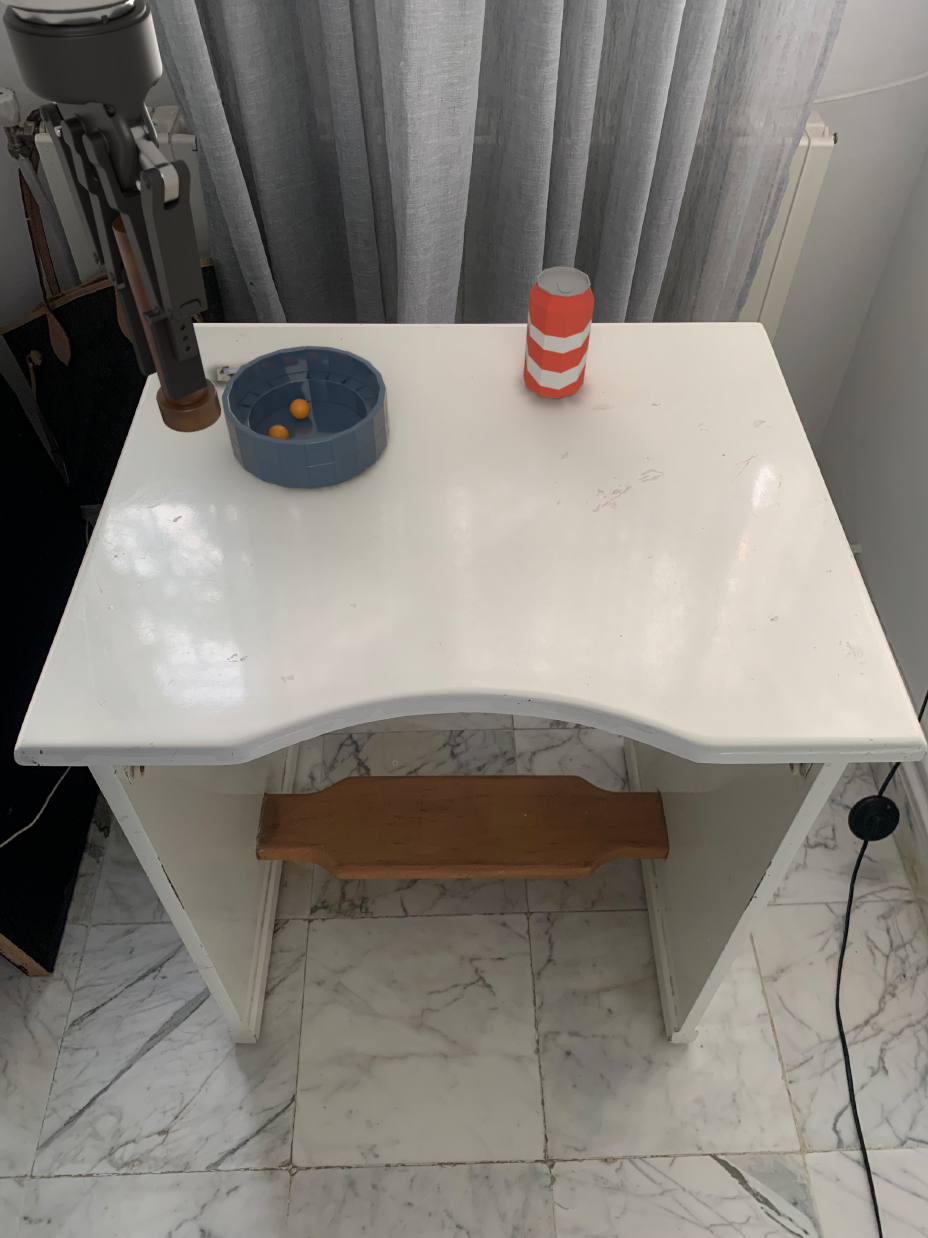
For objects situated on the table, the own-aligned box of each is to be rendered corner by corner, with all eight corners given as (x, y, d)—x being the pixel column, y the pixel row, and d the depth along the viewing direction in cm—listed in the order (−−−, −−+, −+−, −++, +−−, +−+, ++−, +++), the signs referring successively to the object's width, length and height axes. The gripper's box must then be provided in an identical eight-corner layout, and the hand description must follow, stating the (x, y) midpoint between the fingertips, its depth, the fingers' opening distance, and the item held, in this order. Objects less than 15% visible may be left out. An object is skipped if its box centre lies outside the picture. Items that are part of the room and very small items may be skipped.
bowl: (218, 491, 84) (205, 440, 79) (251, 393, 93) (241, 343, 89) (380, 497, 83) (375, 447, 79) (395, 398, 93) (393, 348, 88)
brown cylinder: (151, 424, 67) (87, 230, 55) (183, 391, 70) (128, 199, 58) (201, 438, 66) (147, 244, 54) (232, 404, 69) (187, 212, 57)
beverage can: (528, 404, 93) (537, 299, 83) (520, 369, 97) (527, 264, 87) (586, 402, 93) (601, 296, 84) (575, 366, 97) (588, 261, 88)
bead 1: (261, 439, 86) (268, 429, 85) (272, 427, 87) (279, 417, 86) (277, 453, 87) (285, 443, 85) (288, 440, 88) (295, 430, 86)
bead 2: (300, 422, 90) (284, 410, 89) (311, 405, 90) (294, 393, 89) (305, 424, 88) (288, 412, 87) (316, 406, 88) (299, 395, 87)
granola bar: (280, 365, 97) (278, 357, 96) (281, 377, 96) (280, 369, 95) (217, 372, 96) (215, 364, 95) (218, 385, 95) (216, 377, 94)
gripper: (221, 25, 45) (282, 409, 63) (66, -48, 52) (160, 314, 70) (83, 59, 41) (189, 455, 59) (-61, -24, 49) (72, 350, 67)
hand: (173, 378), depth 65 cm, fingers closed on brown cylinder, 3 cm apart
